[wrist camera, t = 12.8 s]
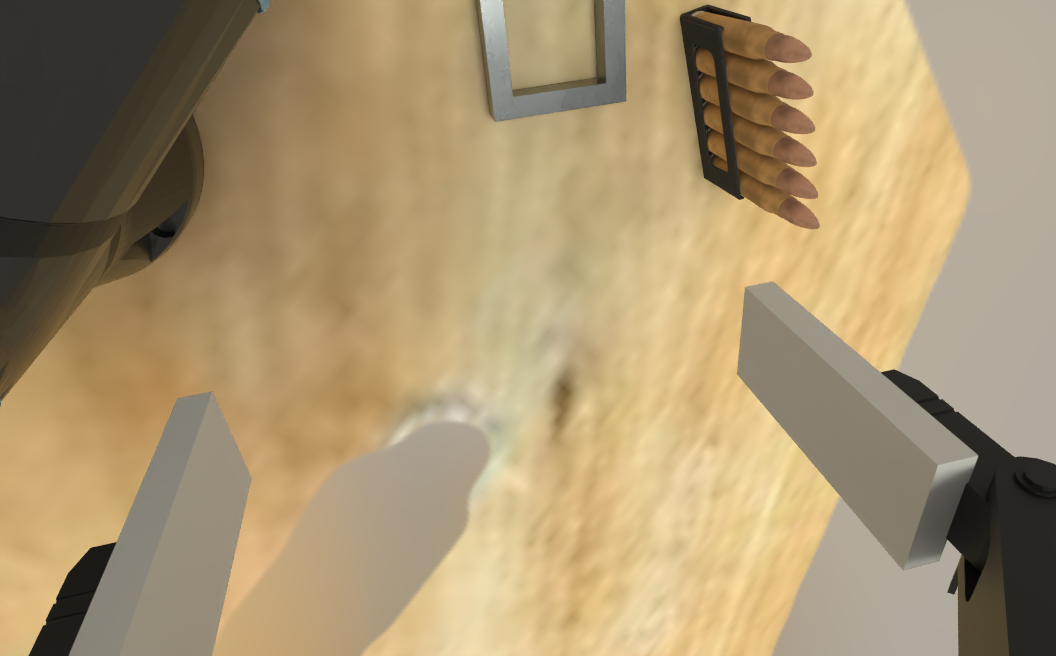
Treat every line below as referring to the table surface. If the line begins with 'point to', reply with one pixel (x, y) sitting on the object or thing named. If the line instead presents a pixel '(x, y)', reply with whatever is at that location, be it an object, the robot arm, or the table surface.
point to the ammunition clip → (749, 110)
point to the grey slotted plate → (560, 95)
